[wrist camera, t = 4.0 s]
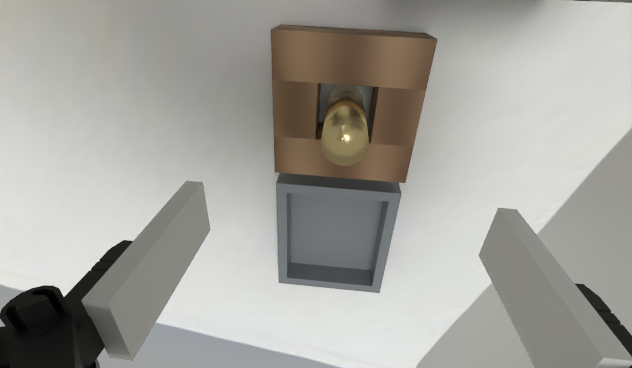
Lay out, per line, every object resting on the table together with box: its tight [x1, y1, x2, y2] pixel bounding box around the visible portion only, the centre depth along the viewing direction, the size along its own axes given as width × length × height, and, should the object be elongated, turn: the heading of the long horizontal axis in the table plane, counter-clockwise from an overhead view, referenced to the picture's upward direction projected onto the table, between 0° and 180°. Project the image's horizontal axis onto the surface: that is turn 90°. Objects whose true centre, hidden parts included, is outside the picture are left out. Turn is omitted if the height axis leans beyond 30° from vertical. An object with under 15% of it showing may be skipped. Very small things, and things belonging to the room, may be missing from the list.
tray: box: [276, 173, 401, 293], centre depth 36 cm, size 12×14×4 cm
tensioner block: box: [271, 25, 437, 183], centre depth 28 cm, size 12×12×4 cm
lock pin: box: [321, 84, 369, 166], centre depth 25 cm, size 3×3×10 cm
